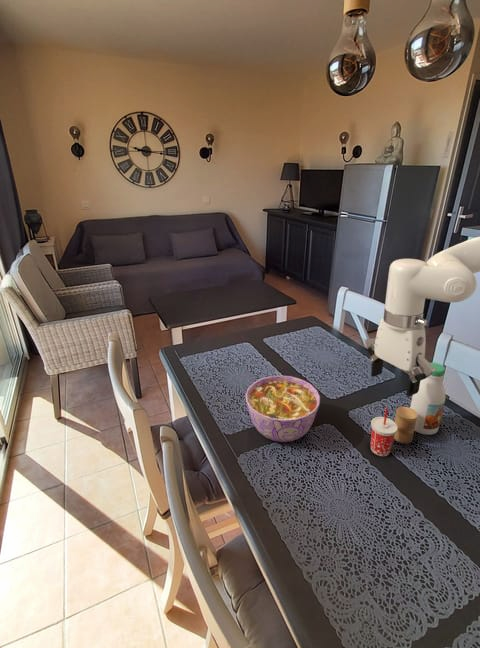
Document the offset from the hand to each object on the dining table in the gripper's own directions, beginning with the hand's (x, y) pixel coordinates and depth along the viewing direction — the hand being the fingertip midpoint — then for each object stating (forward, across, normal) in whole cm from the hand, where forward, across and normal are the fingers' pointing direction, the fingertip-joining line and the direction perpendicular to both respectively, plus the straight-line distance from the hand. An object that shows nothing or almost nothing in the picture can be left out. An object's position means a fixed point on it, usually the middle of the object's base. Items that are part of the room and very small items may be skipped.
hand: (393, 384), depth 84 cm
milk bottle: (+22, +1, -17) cm, 27 cm away
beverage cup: (+21, +1, +1) cm, 21 cm away
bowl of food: (+21, +21, +17) cm, 34 cm away
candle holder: (+21, +1, -8) cm, 23 cm away
